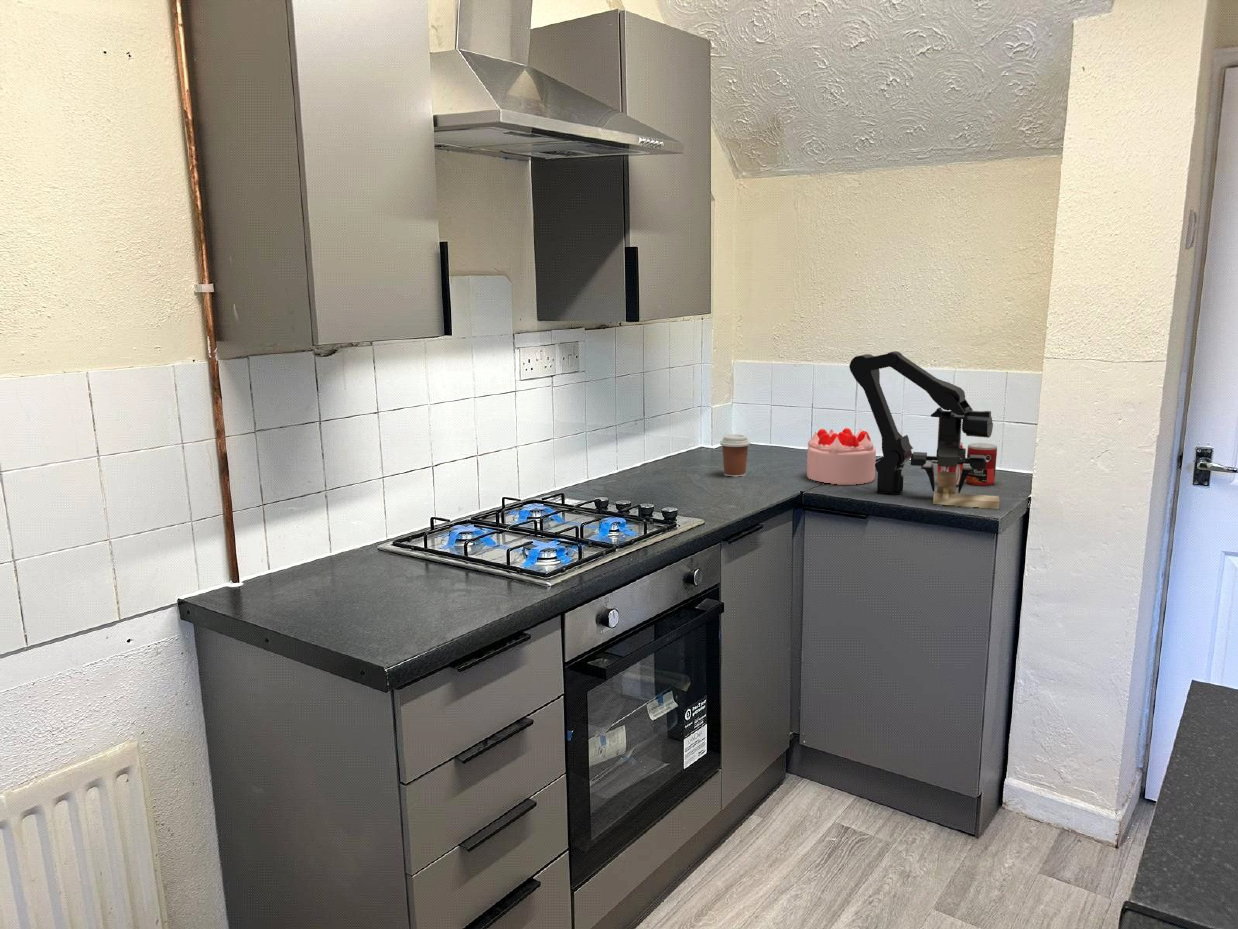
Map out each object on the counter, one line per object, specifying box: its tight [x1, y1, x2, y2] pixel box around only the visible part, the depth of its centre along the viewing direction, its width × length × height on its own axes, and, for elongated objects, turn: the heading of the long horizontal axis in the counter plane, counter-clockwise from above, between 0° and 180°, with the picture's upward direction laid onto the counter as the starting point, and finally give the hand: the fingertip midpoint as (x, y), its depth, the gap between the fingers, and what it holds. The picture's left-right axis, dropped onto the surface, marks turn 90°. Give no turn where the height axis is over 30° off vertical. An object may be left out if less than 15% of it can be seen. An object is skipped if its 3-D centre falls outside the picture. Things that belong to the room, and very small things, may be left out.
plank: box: [932, 491, 1000, 510], centre depth 243 cm, size 16×6×2 cm, turn 70°
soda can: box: [936, 441, 965, 486], centre depth 265 cm, size 7×7×12 cm
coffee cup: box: [719, 434, 751, 477], centre depth 282 cm, size 9×9×12 cm
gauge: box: [936, 472, 956, 499], centre depth 245 cm, size 4×11×7 cm, turn 160°
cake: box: [806, 427, 877, 486], centre depth 275 cm, size 20×20×14 cm
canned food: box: [965, 442, 998, 487], centre depth 266 cm, size 8×8×11 cm
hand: (946, 492), depth 249 cm, fingers open, 6 cm apart
